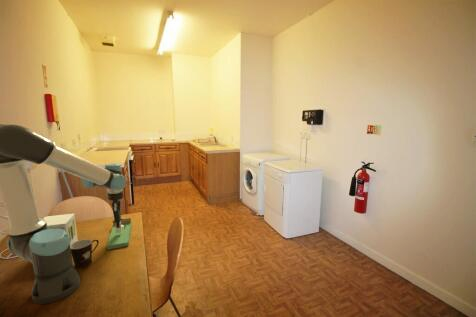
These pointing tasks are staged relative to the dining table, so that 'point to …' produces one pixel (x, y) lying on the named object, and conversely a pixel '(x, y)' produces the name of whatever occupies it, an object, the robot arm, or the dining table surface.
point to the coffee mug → (82, 252)
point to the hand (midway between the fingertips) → (118, 232)
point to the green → (120, 235)
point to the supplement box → (63, 225)
